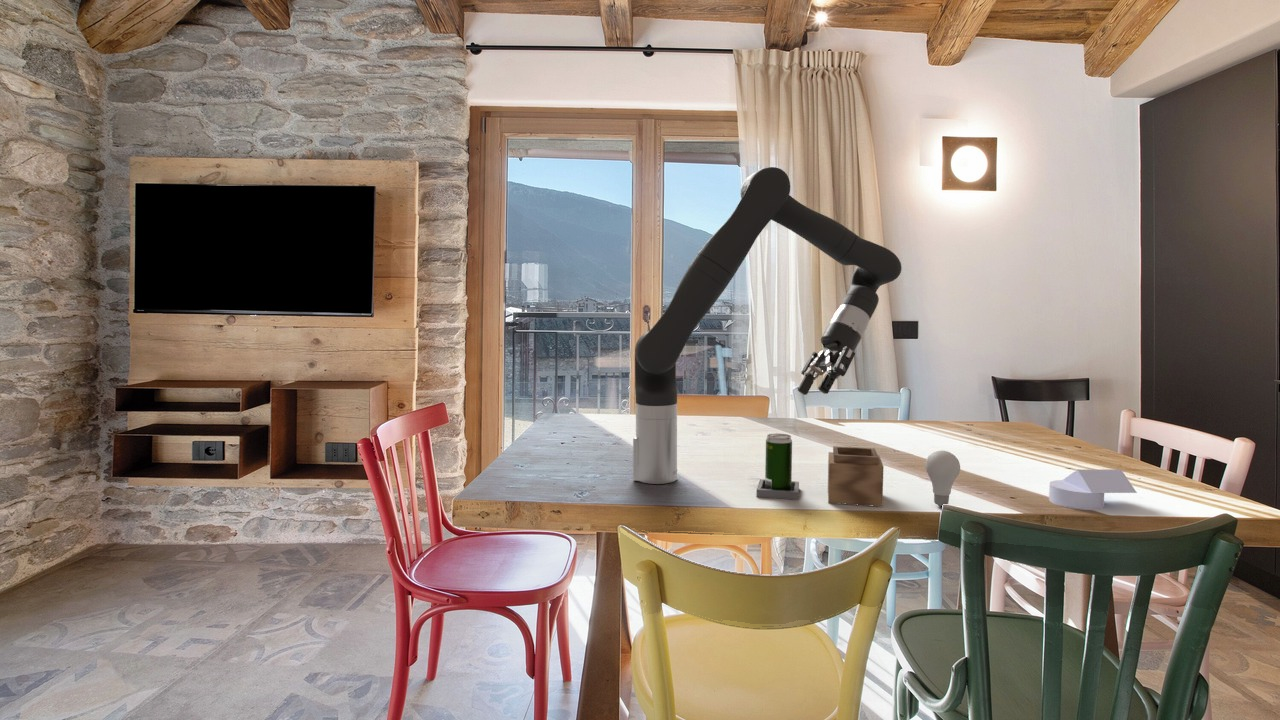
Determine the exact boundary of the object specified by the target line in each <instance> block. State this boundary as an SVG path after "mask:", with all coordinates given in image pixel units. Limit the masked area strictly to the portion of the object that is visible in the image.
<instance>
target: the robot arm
mask: <svg viewBox="0 0 1280 720" xmlns="http://www.w3.org/2000/svg"><path fill="white" fill-rule="evenodd" d="M790 194H791V181H790V178H789V176H788V174H787V173H786V171H784V170H783V169H781V168H780V167H775V166H768V167H767V166H766V167H762V168H759V169H758V170H756V171H754V172H753V173H751V174H750V175H748V177H746V178H745V180H744V181H743V182H742V184H741V187H740V198H741V199H740V200H739V202H738V204H737V205H736V207H735V209H734V210H733V212H732V214H731V215H730V216H729V217H728V219H727V220H726V221H725V222H724V223H723V224H722V225H721V226H720V227H719V229H717V230H716V231H715V233H713V235H712V236H711V237H710V238H709V239H708V241H706V243H705V244H704V245H703V246H702V247H701V249H700V250H699V251H698V253H697V254H696V256H695V258H694V259H693V260H692V261H691V263H690V265H689V266H688V267H687V269H686V271H685V273H684V274H683V277H682V278H681V280H680V281H679V284H678V286H677V288H676V290H675V292H674V295H673V298H672V299H671V302H670V303H669V305H668V307H667V308H666V309H665V311H664V312H663V314H662V315H661V316H660V318H659V319H658V320H657V321H656V323H654V325H653V327H652V328H650V330H649V331H646V332H645V333H643V334H642V335H641V336H640V337H639V338H638V339H637V342H636V343H635V347H634V389H635V394H634V395H635V437H633V439H632V454H633V455H632V460H633V461H632V462H633V464H632V466H633V467H632V468H633V469H632V470H633V472H632V475H633V477H632V480H633V482H634V481H635V482H636V481H637V482H640V483H643V484H651V485H652V484H654V485H655V484H656V485H661V484H663V485H664V484H670V483H673V482H675V481H677V480H678V389H677V361H678V360H679V357H680V356H681V354H682V352H683V350H684V348H685V346H686V344H687V342H688V341H689V339H690V337H691V335H692V334H693V333H694V332H693V331H694V330H696V327H697V326H698V324H699V323H701V320H702V319H703V318H704V317H705V316H706V315H707V313H708V312H709V311H710V309H711V308H712V307H713V306H714V304H715V303H716V302H717V300H718V299H719V298H720V296H721V295H722V294H723V293H724V291H725V290H726V289H727V287H728V285H729V284H730V282H731V280H733V278H734V276H735V275H736V273H737V271H738V270H739V268H740V267H741V265H742V264H743V262H744V260H745V258H746V257H747V255H749V252H750V250H751V248H752V247H753V246H754V243H755V242H756V240H757V238H758V237H759V236H760V234H761V233H762V231H763V230H764V229H765V228H766V226H767V225H769V223H770V221H773V222H775V223H777V224H779V225H780V226H783V227H784V228H786V229H788V230H789V231H791V232H793V233H795V234H796V235H798V236H799V237H801V238H802V239H804V240H805V241H806V242H808V243H810V244H811V245H812V246H814V247H816V248H817V249H819V250H820V251H821V252H822V253H824V254H825V255H827V256H828V257H830V258H831V259H833V260H834V261H836V262H837V263H839V264H841V265H844V266H856V268H855V269H854V270H853V273H852V276H851V280H850V283H849V286H848V287H849V288H848V291H847V293H846V294H845V297H844V298H843V300H842V302H841V304H840V305H839V307H838V309H836V311H835V312H834V314H833V315H832V318H831V320H830V322H829V323H828V324H827V327H826V329H825V330H824V332H823V333H822V335H821V337H820V343H821V344H822V347H823V348H822V349H821V350H820V351H819V353H817V352H816V351H813V352H811V354H810V356H809V358H808V360H807V361H806V363H805V364H804V366H803V368H802V370H801V372H800V374H801V375H803V379H802V381H801V382H800V384H799V386H798V387H797V391H798V392H799V393H800V394H801V395H804V396H805V395H806V396H807V395H808V393H809V392H810V390H811V387H812V386H813V384H814V383H815V380H817V378H819V376H823V375H824V376H823V378H822V379H821V381H820V384H819V385H818V388H817V389H818V390H819V391H820V392H821V393H822V394H824V395H827V394H829V392H830V390H831V389H832V386H833V385H834V383H835V381H836V380H838V379H839V377H844V376H845V375H846V373H847V371H848V370H849V368H850V367H851V366H850V365H851V364H852V361H853V359H854V357H855V355H856V352H855V350H856V349H857V347H858V345H859V344H860V342H861V339H862V338H863V336H864V334H865V332H866V330H867V327H868V326H869V322H870V320H871V318H872V316H873V315H874V313H875V311H876V309H877V307H878V304H879V302H880V301H879V299H880V298H879V295H878V293H877V292H878V289H879V288H880V287H881V286H883V285H886V284H889V283H891V282H894V281H895V280H897V279H898V278H899V276H900V275H901V273H902V263H901V260H900V258H899V257H898V256H897V255H896V254H895V253H894V252H893V251H891V250H890V249H888V248H887V247H884V246H882V245H879V244H877V243H875V242H873V241H870V240H867V239H865V238H861V237H860V236H858V235H857V234H856V233H855V232H853V231H852V230H850V229H849V228H848V227H846V226H844V225H843V224H842V223H840V222H839V221H836V220H835V219H833V218H831V217H829V216H827V215H825V214H822V213H820V212H818V211H815V210H813V209H811V208H810V207H807V206H806V205H804V204H803V203H801V202H799V201H798V200H797V199H795V198H794V197H792V195H790Z"/></svg>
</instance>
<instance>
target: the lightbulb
mask: <svg viewBox="0 0 1280 720" xmlns="http://www.w3.org/2000/svg"><path fill="white" fill-rule="evenodd" d="M924 467H925V470H926V473H927V476H928V477H929V479H930V481H931V485H932V492H933V503H934V504H935V505H937V506H938V507H939V506H940V508H942V507H941V506H942V505H943V504H948V505H949V502H950V495H951V492H952V488H953V484H954V482H955V481H956V479H957V478H958V477H959V474H960V471H961V463H960V460H959V458H958V457H956V455H955V454H953V453H952V452H950V451H948V450H947V451H946V450H937V451H934V452H931V454H930V455H929V456H928V457H927V459H926V460H925V466H924Z"/></svg>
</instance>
